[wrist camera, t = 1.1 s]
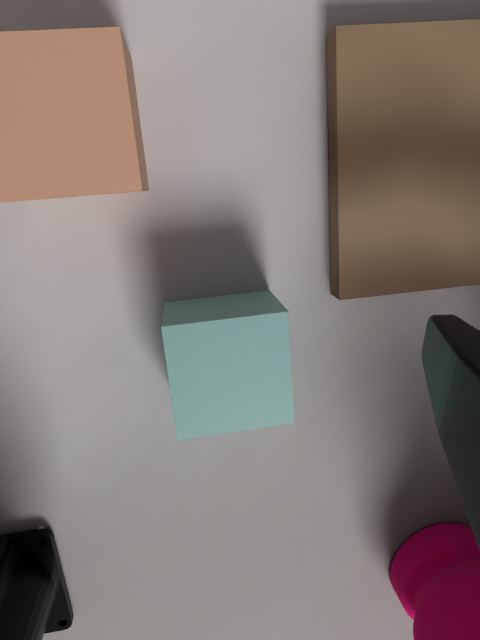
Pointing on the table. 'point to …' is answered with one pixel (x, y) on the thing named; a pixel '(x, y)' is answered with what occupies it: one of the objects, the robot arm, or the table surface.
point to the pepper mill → (440, 582)
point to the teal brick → (228, 363)
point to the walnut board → (403, 156)
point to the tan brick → (68, 115)
